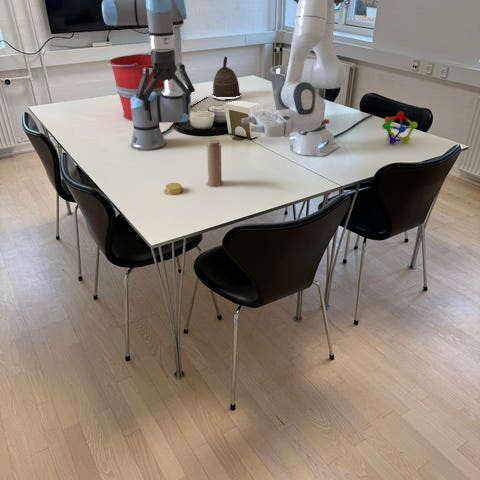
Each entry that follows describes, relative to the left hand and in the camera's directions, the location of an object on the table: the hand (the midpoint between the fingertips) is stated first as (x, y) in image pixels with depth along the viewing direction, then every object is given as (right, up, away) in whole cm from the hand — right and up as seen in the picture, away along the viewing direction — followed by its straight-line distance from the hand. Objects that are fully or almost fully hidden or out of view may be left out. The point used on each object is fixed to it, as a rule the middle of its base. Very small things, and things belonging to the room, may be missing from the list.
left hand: (168, 116), depth 151 cm
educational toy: (+99, +4, +60) cm, 116 cm away
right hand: (+27, 0, +12) cm, 29 cm away
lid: (0, -22, +14) cm, 26 cm away
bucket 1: (-28, +28, +98) cm, 105 cm away
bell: (+16, +49, +131) cm, 140 cm away
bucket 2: (+54, +18, +83) cm, 100 cm away
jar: (+15, -20, +20) cm, 32 cm away
